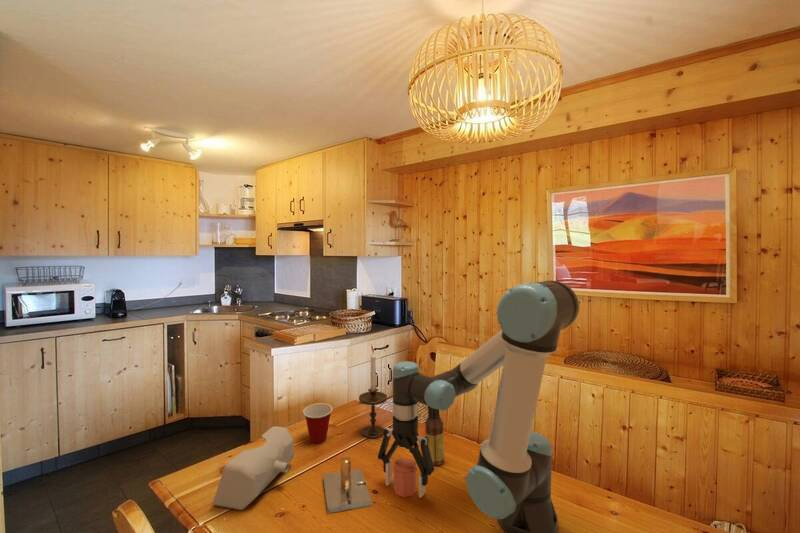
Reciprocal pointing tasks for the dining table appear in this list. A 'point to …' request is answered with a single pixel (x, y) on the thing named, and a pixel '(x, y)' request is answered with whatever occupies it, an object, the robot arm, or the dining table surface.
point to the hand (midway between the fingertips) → (405, 488)
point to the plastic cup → (317, 421)
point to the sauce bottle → (435, 436)
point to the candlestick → (372, 404)
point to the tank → (255, 469)
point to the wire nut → (405, 477)
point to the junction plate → (340, 495)
